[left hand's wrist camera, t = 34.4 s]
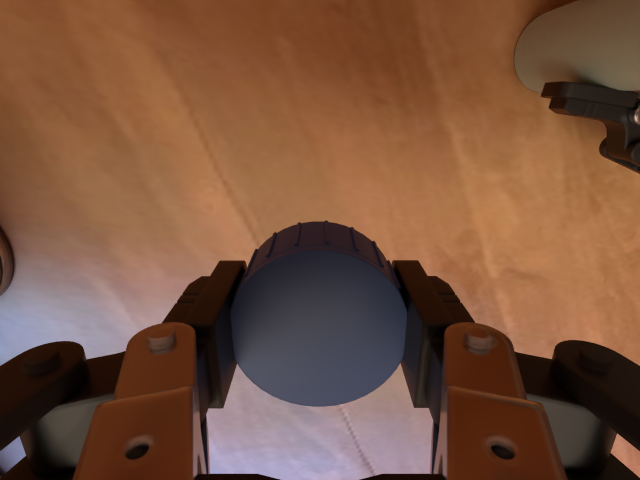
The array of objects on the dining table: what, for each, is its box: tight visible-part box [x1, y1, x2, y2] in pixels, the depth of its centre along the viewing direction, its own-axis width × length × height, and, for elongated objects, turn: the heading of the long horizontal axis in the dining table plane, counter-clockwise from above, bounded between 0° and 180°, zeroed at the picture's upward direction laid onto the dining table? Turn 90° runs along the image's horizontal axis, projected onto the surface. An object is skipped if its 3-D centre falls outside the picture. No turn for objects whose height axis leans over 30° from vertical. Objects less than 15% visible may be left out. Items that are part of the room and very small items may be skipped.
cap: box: [230, 221, 407, 406], centre depth 11 cm, size 5×5×2 cm
